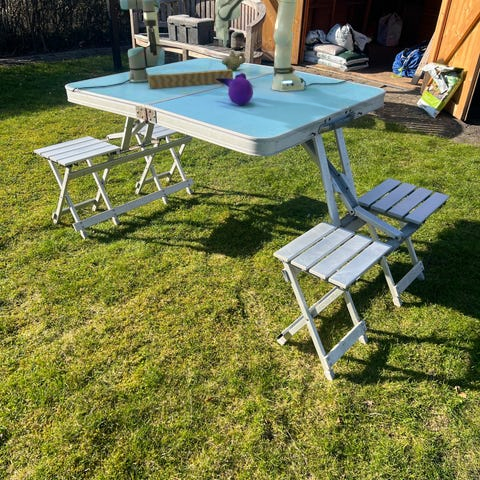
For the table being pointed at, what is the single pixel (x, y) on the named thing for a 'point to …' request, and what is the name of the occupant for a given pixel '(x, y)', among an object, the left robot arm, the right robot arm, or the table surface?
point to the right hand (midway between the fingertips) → (222, 46)
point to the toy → (238, 89)
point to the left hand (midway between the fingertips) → (153, 54)
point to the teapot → (233, 60)
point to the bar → (188, 78)
